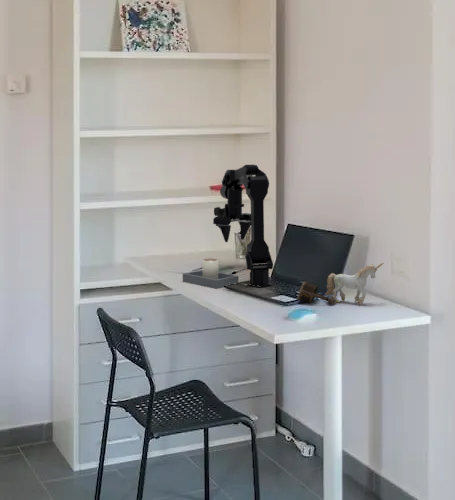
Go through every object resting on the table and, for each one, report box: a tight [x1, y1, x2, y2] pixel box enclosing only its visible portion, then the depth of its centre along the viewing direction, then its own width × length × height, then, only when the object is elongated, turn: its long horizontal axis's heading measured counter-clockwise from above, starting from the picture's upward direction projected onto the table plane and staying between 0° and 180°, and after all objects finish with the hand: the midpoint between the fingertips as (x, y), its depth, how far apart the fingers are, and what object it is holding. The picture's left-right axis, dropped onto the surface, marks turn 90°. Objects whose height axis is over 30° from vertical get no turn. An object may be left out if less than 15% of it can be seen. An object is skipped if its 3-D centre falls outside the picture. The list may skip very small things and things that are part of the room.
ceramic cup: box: [201, 257, 219, 280], centre depth 328 cm, size 6×6×8 cm
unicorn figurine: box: [324, 262, 384, 306], centre depth 297 cm, size 7×20×13 cm, turn 84°
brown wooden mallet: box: [296, 281, 336, 306], centre depth 297 cm, size 7×13×10 cm
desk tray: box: [182, 269, 239, 289], centre depth 329 cm, size 18×12×3 cm, turn 46°
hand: (234, 240), depth 351 cm, fingers open, 9 cm apart
